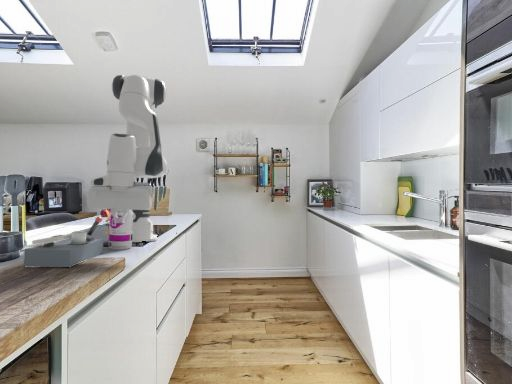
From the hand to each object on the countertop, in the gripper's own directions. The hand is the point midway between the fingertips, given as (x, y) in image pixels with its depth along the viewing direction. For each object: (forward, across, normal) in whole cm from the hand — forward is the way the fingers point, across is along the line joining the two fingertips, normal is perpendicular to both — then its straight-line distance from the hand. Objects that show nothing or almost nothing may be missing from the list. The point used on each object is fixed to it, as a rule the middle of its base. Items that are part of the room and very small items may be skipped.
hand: (119, 223), depth 104 cm
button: (+6, +10, +6) cm, 13 cm away
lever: (+5, +10, 0) cm, 11 cm away
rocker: (+4, +15, +12) cm, 20 cm away
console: (+11, +13, +6) cm, 18 cm away
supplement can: (+11, +5, -16) cm, 20 cm away
